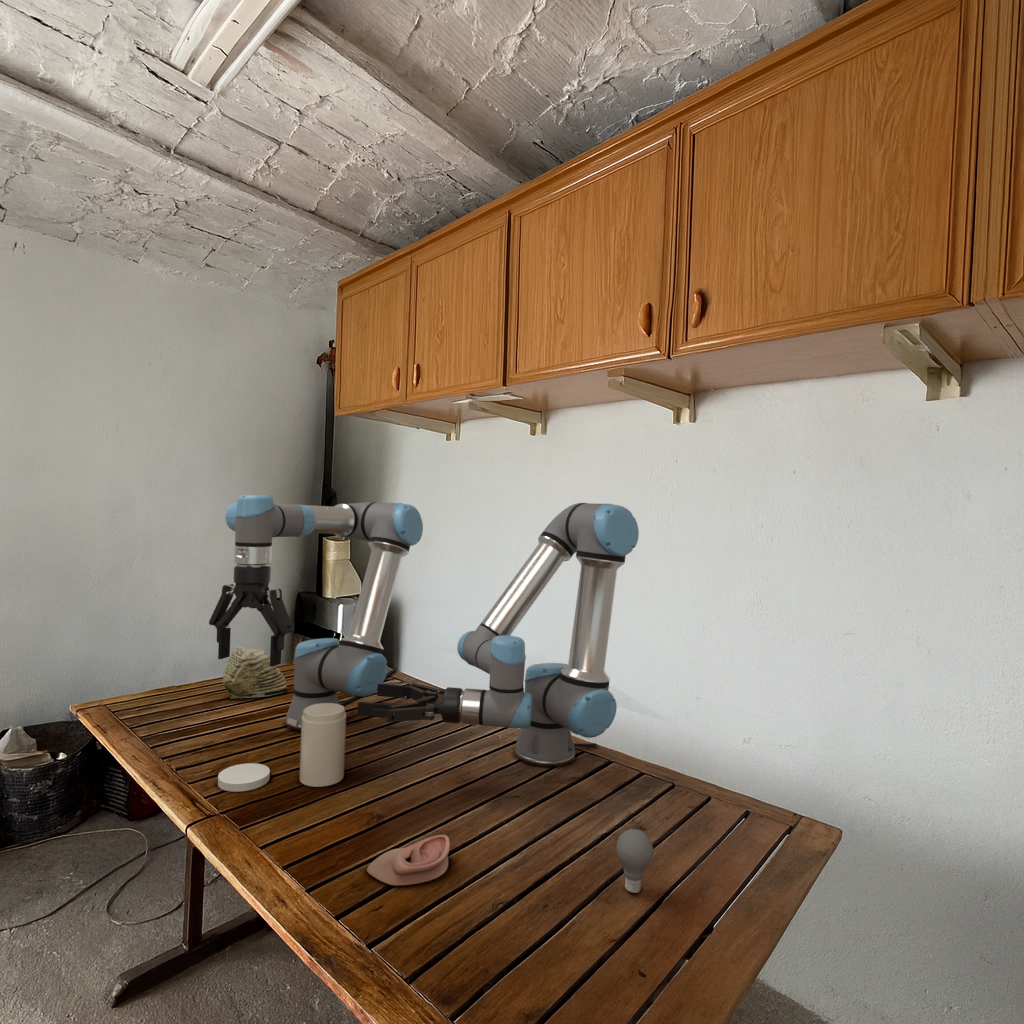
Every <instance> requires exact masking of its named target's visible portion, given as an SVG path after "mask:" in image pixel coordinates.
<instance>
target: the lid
mask: <svg viewBox="0 0 1024 1024" xmlns="http://www.w3.org/2000/svg"><path fill="white" fill-rule="evenodd" d="M270 769H271V768H269V767H268V766H267V765H265V764H262V763H255V762H254V763H253V762H250V763H248V762H247V763H240V764H234V765H231V766H229V767H226V768H224V769H223V770H221V771H220V772H219V773H218V775H217V787H218V788H219V789H220V790H223V791H225V792H233V793H234V792H235V793H237V792H238V793H239V792H247V791H248V792H249V791H252V790H256V789H258V788H261V787H263V786H264V785H266V784H267V783H268V782H269V781H270V778H271V777H270V776H271V770H270Z"/></svg>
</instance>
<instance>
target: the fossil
mask: <svg viewBox="0 0 1024 1024" xmlns="http://www.w3.org/2000/svg"><path fill="white" fill-rule="evenodd" d="M222 676H223V677H222V685H223V687H224V688H225V690H226V691H228V693H229V698H230V699H250V698H264V697H271V696H275V695H281V694H284V693H285V691H286V689H287V687H288V686H287V680H286V678H285V676H284V674H283V673H282V672H281V669H279V668H278V667H277V665H276V666H273V667H272V666H270V655H268V654H267V653H266V652H265V650H264V649H263V648H260V647H258V648H251V647H247V646H246V647H245V646H238V647H237V648H236V649H235V650H233V651H232V653H231V654H230V657H229V658H228V660H227V663H226V666H225V668H224V671H223V675H222Z"/></svg>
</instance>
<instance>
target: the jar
mask: <svg viewBox="0 0 1024 1024" xmlns="http://www.w3.org/2000/svg"><path fill="white" fill-rule="evenodd" d="M346 737H347V712H346V708H345V707H344V705H339V704H334V703H320V704H314V705H311V706H308V707H306V708H305V709H304V711H303V715H302V719H301V731H300V748H299V749H300V750H299V773H298V774H299V775H298V781H299V782H300V783H301V784H303V785H304V786H307V787H315V788H319V787H329V786H332V785H335V784H337V783H339V782H341V781H342V780H343V779H344V777H345V761H346V760H345V758H346Z"/></svg>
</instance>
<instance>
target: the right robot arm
mask: <svg viewBox="0 0 1024 1024" xmlns="http://www.w3.org/2000/svg"><path fill="white" fill-rule="evenodd" d="M639 530H640V529H639V525H638V522H637V519H636V517H634V515H633V513H632V512H631V511H630V510H629V509H628V508H627V507H625V506H622V505H619V504H613V503H607V502H606V503H590V502H589V503H588V502H578V503H574V504H571V505H569V506H568V507H565V508H564V509H563V510H562V511H561V512H559V513H558V514H557V515H556V516H555V517H554V518H553V519H552V520H551V521H550V522H549V523H548V525H547V526H546V527H545V528H544V530H543V531H542V532H541V534H539V536H538V538H537V541H538V544H537V546H536V547H535V548H534V549H533V551H532V553H531V554H530V555H529V556H528V558H527V559H526V561H525V562H524V564H523V565H522V566H521V568H520V569H519V571H517V573H516V574H515V576H514V577H513V578H512V580H511V581H510V583H509V584H508V586H507V587H506V588H505V590H504V591H503V592H502V594H500V596H499V598H498V599H497V600H496V602H495V603H494V605H492V607H491V609H490V610H489V611H488V612H487V614H486V615H485V617H484V618H483V620H482V621H481V622H480V623H479V625H478V626H477V627H476V629H475V630H469V631H467V632H465V633H463V634H462V635H461V636H460V638H459V639H458V642H457V648H456V649H457V653H458V656H459V657H460V658H461V660H462V661H464V662H466V663H467V664H468V665H469V666H471V667H475V668H477V669H478V670H481V671H482V672H484V673H486V674H488V675H489V689H481V688H471V687H470V688H469V687H466V688H465V689H463V688H462V687H453V686H452V687H451V686H447V687H446V688H444V689H443V688H436V687H432V686H428V685H424V684H420V683H417V682H412V683H410V684H407V685H401V684H388V683H383V684H378V688H377V691H376V696H377V697H384V698H396V699H397V698H398V699H405V700H414V701H413V702H406V703H400V704H394V705H392V703H390V702H387V703H379V702H369V701H368V702H367V701H358V702H357V716H359V717H371V718H372V717H373V718H384V719H386V722H387V723H389V724H390V723H391V724H392V723H401V722H402V723H403V722H413V721H424V720H425V721H434V720H435V715H441V721H442V722H443V723H446V724H459V723H462V724H463V725H471V726H472V727H474V728H475V727H477V726H487V727H496V728H497V727H498V728H507V729H520V731H519V734H518V736H517V739H516V742H515V746H514V754H515V757H517V759H519V760H520V761H522V762H524V763H526V764H529V765H532V766H538V767H547V768H550V767H560V766H566V765H568V764H570V763H573V761H574V760H575V758H576V748H596V747H597V743H596V742H594V743H574V739H573V735H572V734H574V735H579V736H581V737H583V738H587V739H589V738H590V739H591V738H592V739H593V738H596V737H599V736H600V735H602V734H603V733H605V732H606V730H607V729H609V728H610V727H611V725H612V724H613V722H614V720H615V718H616V714H617V707H618V706H617V705H618V704H617V700H616V698H615V696H614V695H613V693H611V692H610V681H611V679H610V678H611V677H609V675H608V674H607V673H606V671H605V668H606V662H607V661H606V660H607V653H608V646H609V638H610V630H611V623H612V622H611V621H612V614H613V606H614V599H615V598H614V596H615V590H616V584H617V574H618V570H619V569H620V568H621V567H622V566H624V565H625V564H626V556H627V555H629V554H631V553H632V552H633V550H634V549H635V548H636V546H637V544H638V541H639V534H640V533H639V532H640V531H639ZM574 555H575V558H576V559H577V561H578V562H579V563H580V571H579V579H578V587H577V594H576V603H575V609H574V617H573V618H574V619H573V626H572V633H571V641H570V647H569V648H570V649H569V656H568V662H567V663H563V662H543V663H542V662H541V663H534V664H530V665H529V666H528V667H527V668H526V670H525V666H526V659H527V657H526V643H525V640H524V639H523V638H521V637H520V636H514V635H513V633H514V631H515V630H516V628H517V627H518V626H519V624H520V623H521V621H522V620H523V619H524V617H525V616H526V615H527V613H528V611H529V610H530V609H531V607H532V606H533V605H534V603H535V602H536V600H537V599H538V598H539V596H540V595H541V594H542V592H543V591H544V589H545V588H546V587H547V585H548V584H549V582H550V581H551V580H552V578H553V577H554V575H555V574H556V573H557V571H558V570H559V568H560V567H561V566H562V564H563V563H564V562H568V561H571V558H572V557H573V556H574Z"/></svg>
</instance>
